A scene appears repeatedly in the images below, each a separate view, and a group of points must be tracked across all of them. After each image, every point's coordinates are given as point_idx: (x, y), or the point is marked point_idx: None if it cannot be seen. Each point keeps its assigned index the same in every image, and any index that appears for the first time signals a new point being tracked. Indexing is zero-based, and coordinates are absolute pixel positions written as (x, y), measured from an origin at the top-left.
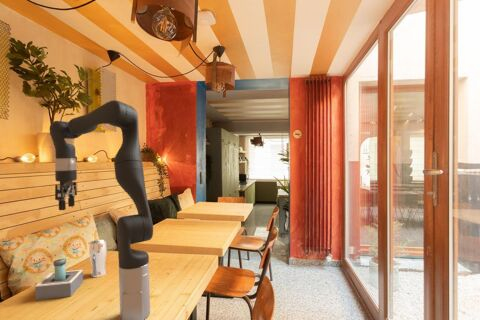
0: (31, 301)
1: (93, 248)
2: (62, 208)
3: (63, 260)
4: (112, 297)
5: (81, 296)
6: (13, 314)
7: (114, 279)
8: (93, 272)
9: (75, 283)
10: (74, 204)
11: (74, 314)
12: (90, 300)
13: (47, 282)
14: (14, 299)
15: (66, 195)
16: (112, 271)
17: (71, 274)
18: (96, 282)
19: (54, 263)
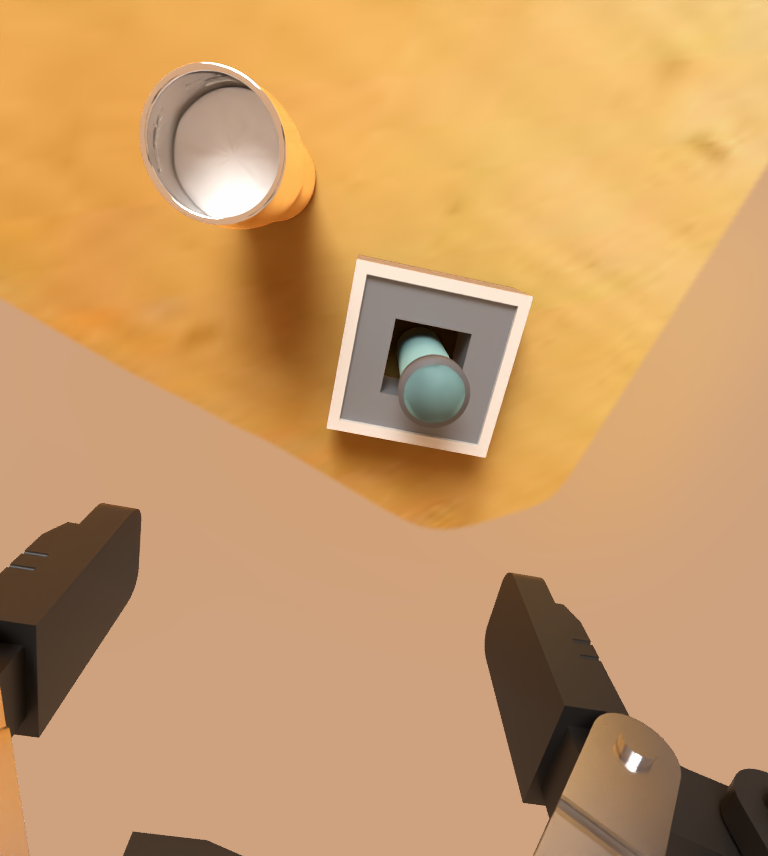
0: None
1: (290, 185)
2: (568, 618)
3: (438, 372)
4: (645, 60)
5: (540, 235)
6: (563, 474)
7: (396, 61)
8: (299, 202)
9: (463, 279)
10: (93, 513)
11: (712, 237)
12: (612, 182)
13: None
14: (420, 512)
15: (596, 827)
16: None
17: (393, 315)
18: (393, 176)
19: (457, 416)
